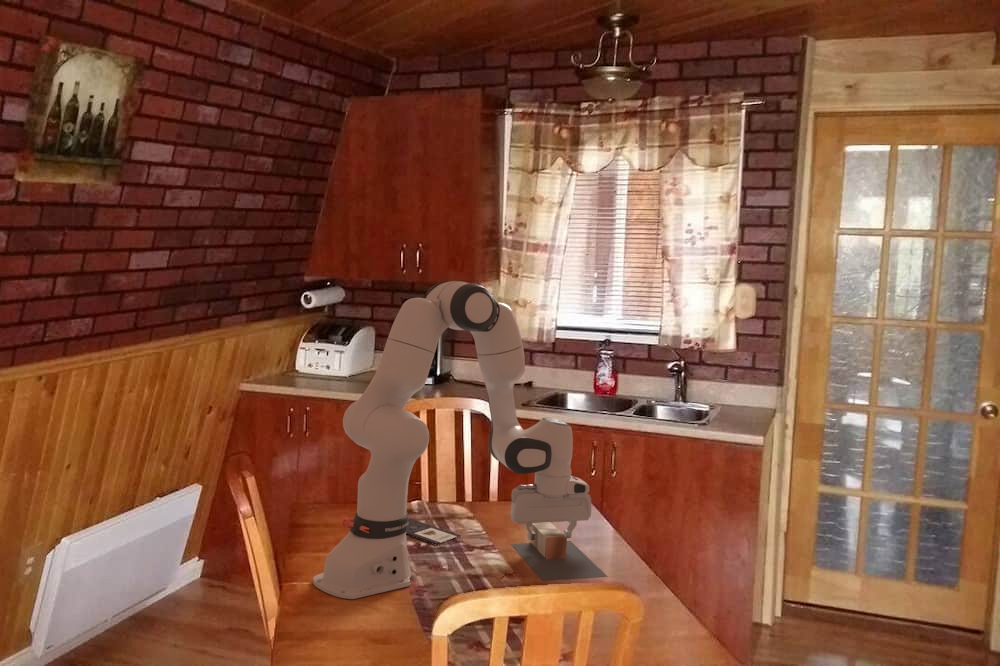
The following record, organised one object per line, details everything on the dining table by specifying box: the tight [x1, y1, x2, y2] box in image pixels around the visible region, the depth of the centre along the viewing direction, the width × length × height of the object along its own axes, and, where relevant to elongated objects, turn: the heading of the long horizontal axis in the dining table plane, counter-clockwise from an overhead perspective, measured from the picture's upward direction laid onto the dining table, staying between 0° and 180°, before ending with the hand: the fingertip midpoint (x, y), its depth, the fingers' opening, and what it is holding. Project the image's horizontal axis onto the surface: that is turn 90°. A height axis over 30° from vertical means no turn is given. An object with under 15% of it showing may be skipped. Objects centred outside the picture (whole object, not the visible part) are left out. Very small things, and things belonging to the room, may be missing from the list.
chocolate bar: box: [406, 518, 461, 546], centre depth 236 cm, size 9×1×18 cm
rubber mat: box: [510, 540, 608, 582], centre depth 219 cm, size 24×16×1 cm, turn 17°
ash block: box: [530, 522, 568, 559], centre depth 225 cm, size 5×5×12 cm
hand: (549, 538), depth 225 cm, fingers open, 8 cm apart
